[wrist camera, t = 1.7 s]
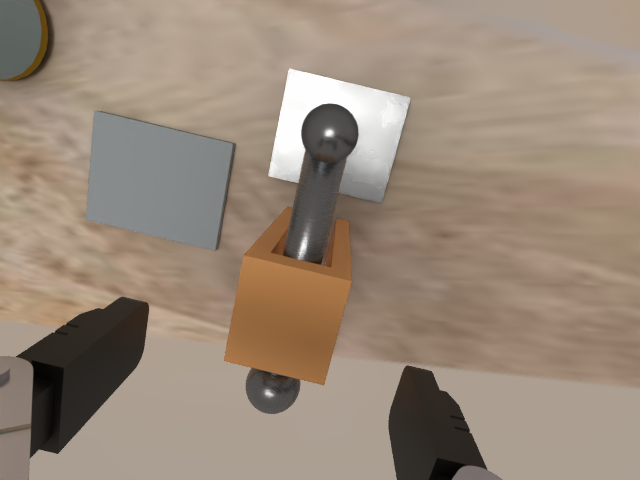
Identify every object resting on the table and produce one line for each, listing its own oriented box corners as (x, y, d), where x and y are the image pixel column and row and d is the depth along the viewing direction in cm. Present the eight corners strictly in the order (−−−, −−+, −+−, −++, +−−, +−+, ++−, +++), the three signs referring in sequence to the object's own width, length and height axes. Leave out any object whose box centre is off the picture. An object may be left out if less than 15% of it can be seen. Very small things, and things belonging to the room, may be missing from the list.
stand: (407, 100, 26) (476, 51, 12) (350, 308, 30) (354, 447, 16) (292, 72, 26) (233, -7, 12) (250, 284, 30) (170, 403, 16)
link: (349, 221, 24) (352, 281, 14) (332, 284, 26) (324, 385, 15) (287, 206, 24) (243, 255, 14) (274, 270, 26) (223, 360, 15)
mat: (235, 143, 27) (233, 143, 27) (217, 248, 29) (215, 250, 29) (99, 111, 28) (94, 110, 27) (91, 218, 30) (85, 219, 29)
